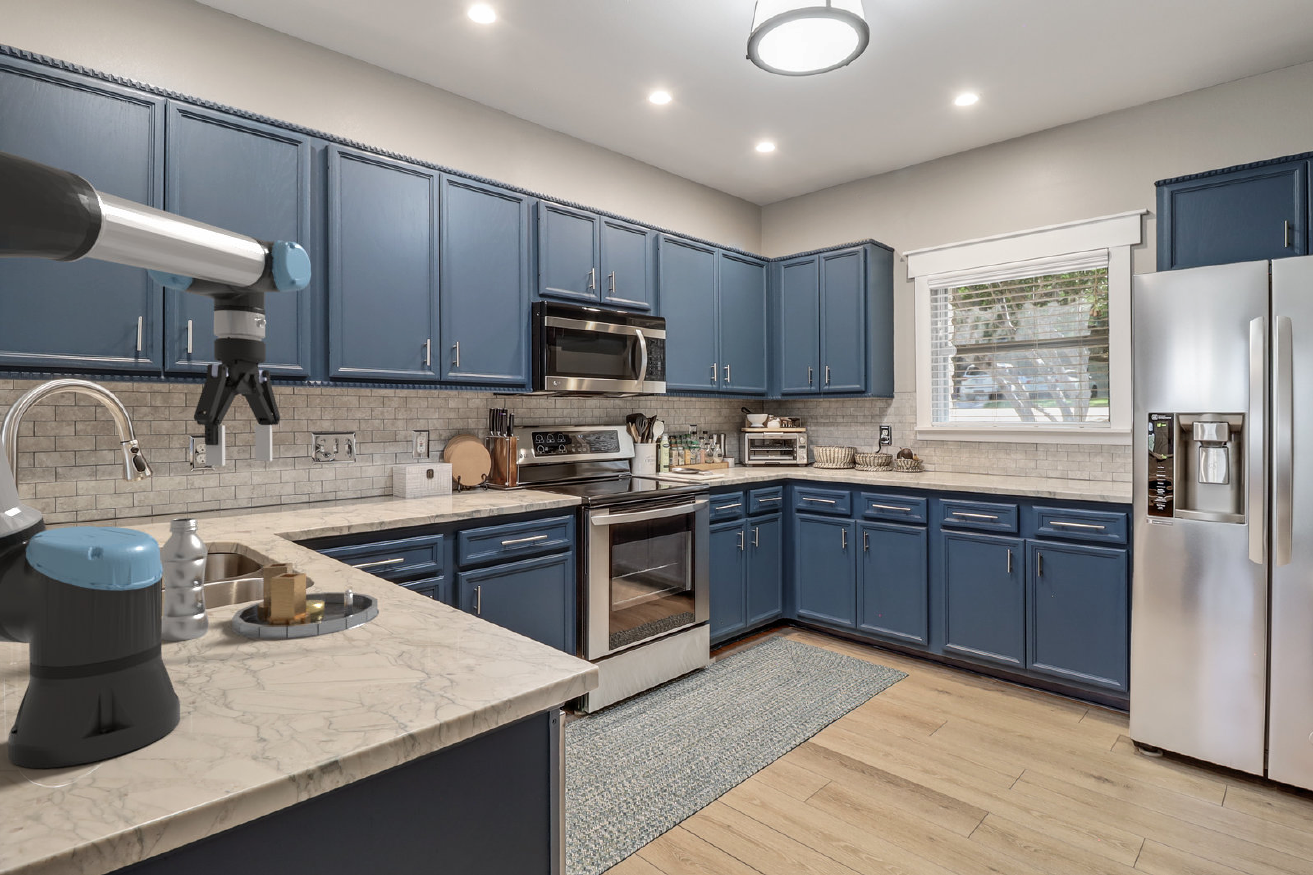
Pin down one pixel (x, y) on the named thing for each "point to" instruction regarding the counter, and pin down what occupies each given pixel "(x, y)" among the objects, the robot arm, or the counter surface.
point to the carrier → (312, 616)
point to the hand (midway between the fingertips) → (241, 463)
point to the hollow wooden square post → (288, 600)
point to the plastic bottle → (184, 582)
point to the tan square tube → (269, 573)
